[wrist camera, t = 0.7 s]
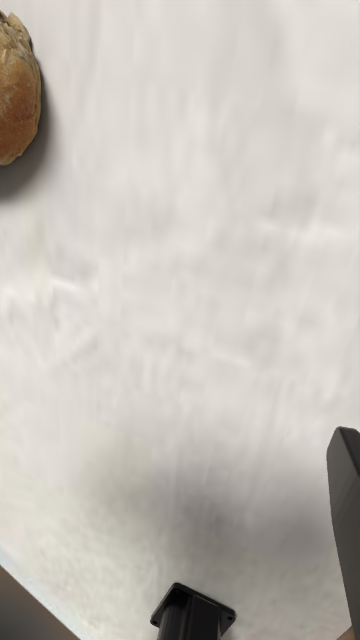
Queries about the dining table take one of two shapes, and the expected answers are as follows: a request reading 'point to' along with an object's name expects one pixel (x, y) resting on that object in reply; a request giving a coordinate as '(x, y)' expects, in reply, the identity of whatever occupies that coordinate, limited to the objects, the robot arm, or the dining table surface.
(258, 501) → the dining table surface
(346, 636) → the button panel
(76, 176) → the dining table surface
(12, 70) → the bread roll
